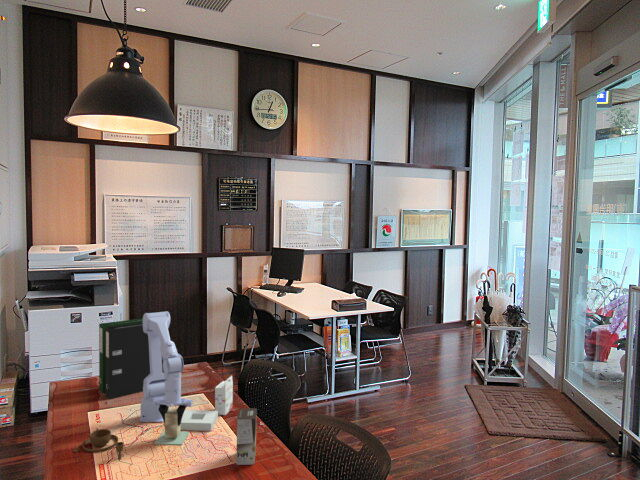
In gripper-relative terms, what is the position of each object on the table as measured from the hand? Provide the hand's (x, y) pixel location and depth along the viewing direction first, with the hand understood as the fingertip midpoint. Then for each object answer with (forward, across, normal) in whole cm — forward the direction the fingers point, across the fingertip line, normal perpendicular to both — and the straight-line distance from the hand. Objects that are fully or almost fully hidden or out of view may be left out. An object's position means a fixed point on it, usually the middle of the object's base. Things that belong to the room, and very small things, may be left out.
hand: (172, 424), depth 179 cm
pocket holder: (+5, +6, +13) cm, 15 cm away
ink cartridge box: (+6, +14, +26) cm, 30 cm away
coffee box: (+6, +30, -13) cm, 33 cm away
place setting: (+6, -23, -10) cm, 26 cm away
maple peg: (+4, 0, 0) cm, 4 cm away
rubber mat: (+5, 0, 0) cm, 5 cm away
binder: (+6, -34, +49) cm, 60 cm away
